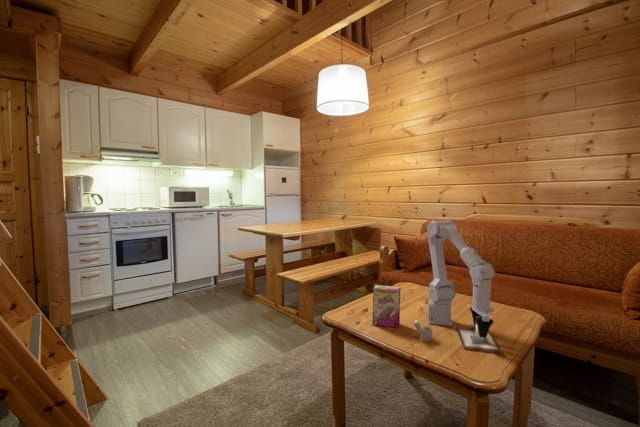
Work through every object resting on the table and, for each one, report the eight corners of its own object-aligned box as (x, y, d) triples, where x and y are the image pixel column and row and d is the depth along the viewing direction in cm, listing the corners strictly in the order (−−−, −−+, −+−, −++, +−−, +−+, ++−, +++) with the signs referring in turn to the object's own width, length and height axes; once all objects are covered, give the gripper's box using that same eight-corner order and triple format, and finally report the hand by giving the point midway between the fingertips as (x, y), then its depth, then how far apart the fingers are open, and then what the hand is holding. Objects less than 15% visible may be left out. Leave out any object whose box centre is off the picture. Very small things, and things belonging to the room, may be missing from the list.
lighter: (429, 338, 115) (430, 318, 115) (432, 340, 114) (432, 320, 113) (412, 340, 114) (412, 319, 113) (414, 342, 112) (415, 321, 112)
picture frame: (463, 349, 107) (464, 343, 107) (456, 329, 123) (456, 324, 122) (501, 353, 104) (501, 348, 104) (488, 332, 119) (488, 327, 119)
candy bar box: (372, 325, 126) (372, 288, 125) (373, 320, 131) (373, 284, 130) (399, 328, 123) (400, 290, 122) (399, 323, 128) (400, 286, 127)
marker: (476, 341, 110) (476, 319, 110) (474, 337, 113) (474, 316, 112) (485, 342, 109) (485, 320, 109) (483, 338, 112) (483, 316, 112)
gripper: (499, 304, 102) (498, 343, 103) (488, 290, 116) (486, 324, 117) (476, 302, 104) (475, 340, 105) (468, 289, 118) (467, 322, 119)
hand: (480, 331), depth 111 cm, fingers open, 7 cm apart
